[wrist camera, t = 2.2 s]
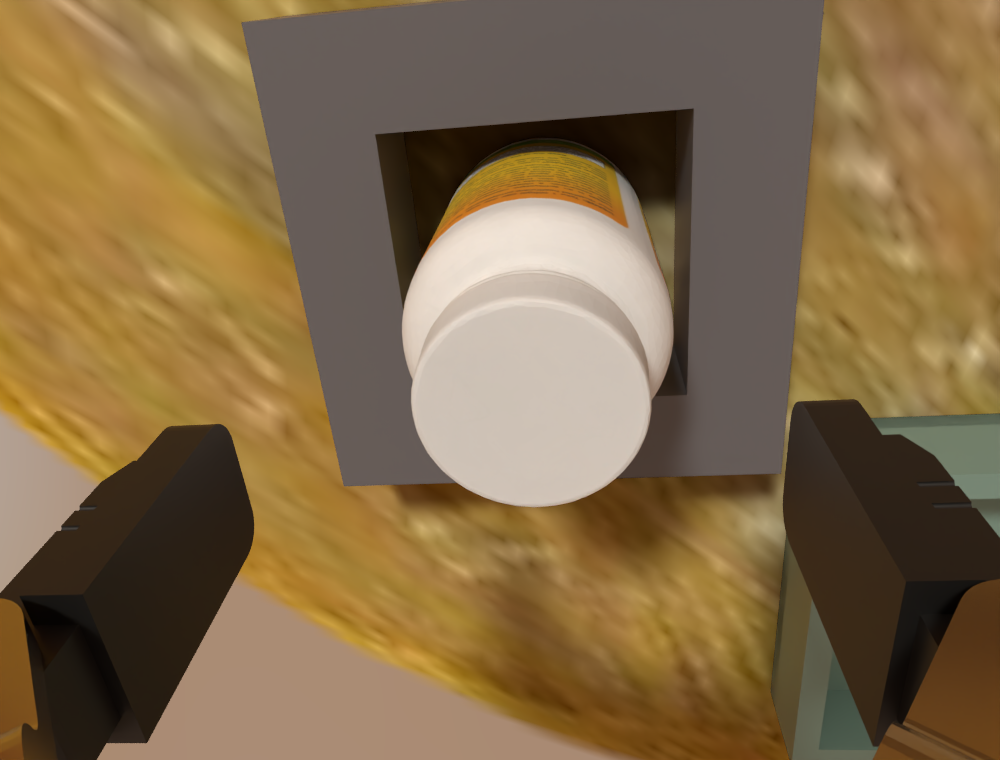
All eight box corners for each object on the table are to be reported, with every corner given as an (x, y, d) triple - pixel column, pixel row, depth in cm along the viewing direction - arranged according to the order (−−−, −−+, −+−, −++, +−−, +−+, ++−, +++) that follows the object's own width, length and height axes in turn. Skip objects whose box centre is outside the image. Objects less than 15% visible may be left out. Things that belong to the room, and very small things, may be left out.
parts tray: (1221, 405, 22) (1311, 464, 19) (1110, 692, 27) (1169, 770, 25) (797, 420, 23) (827, 478, 21) (770, 692, 28) (791, 765, 26)
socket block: (789, -35, 18) (827, -36, 15) (757, 416, 23) (781, 473, 21) (286, 16, 19) (241, 22, 16) (368, 430, 25) (343, 486, 22)
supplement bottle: (407, 220, 21) (298, 386, 13) (561, 89, 19) (555, 178, 11) (530, 359, 23) (508, 588, 14) (683, 250, 21) (762, 439, 12)
